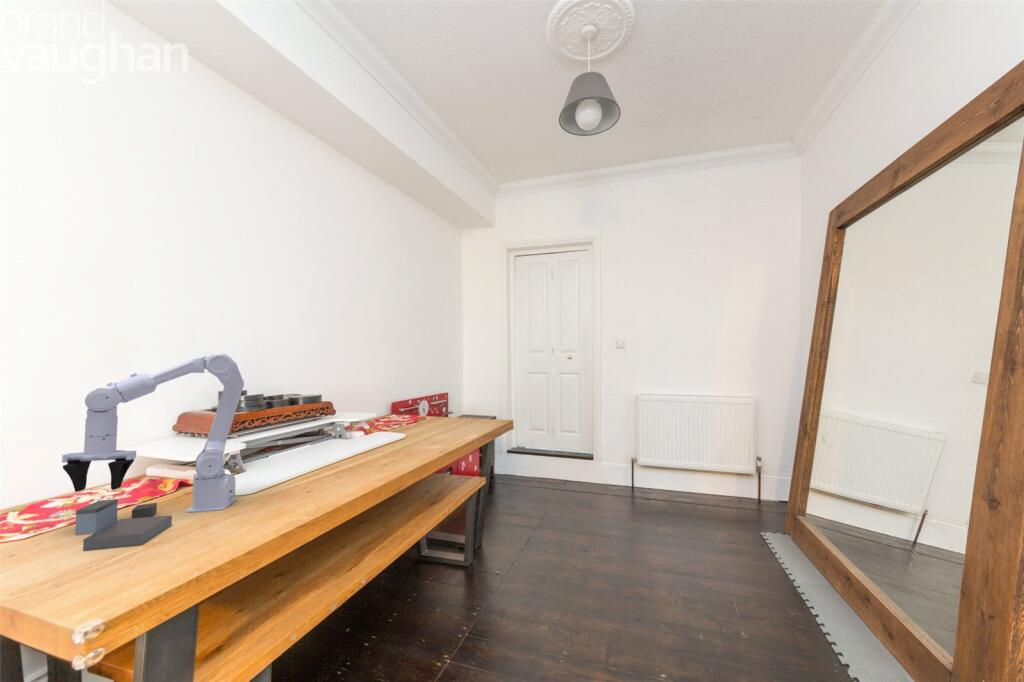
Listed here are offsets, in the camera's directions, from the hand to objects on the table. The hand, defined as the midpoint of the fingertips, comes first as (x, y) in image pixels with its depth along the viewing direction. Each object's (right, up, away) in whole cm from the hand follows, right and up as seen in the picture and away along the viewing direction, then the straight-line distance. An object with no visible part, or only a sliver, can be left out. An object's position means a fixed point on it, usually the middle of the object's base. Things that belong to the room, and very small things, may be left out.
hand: (98, 489), depth 100 cm
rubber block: (+6, -10, +6) cm, 13 cm away
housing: (0, -10, -1) cm, 10 cm away
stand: (+14, -9, -6) cm, 17 cm away
